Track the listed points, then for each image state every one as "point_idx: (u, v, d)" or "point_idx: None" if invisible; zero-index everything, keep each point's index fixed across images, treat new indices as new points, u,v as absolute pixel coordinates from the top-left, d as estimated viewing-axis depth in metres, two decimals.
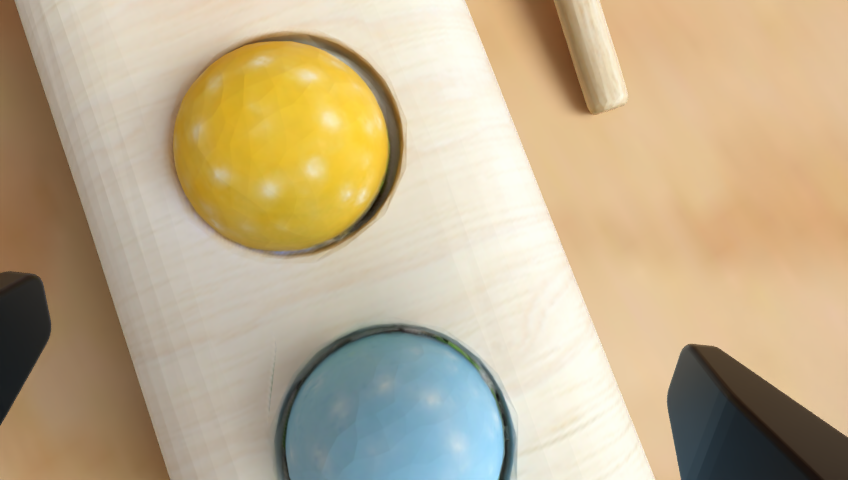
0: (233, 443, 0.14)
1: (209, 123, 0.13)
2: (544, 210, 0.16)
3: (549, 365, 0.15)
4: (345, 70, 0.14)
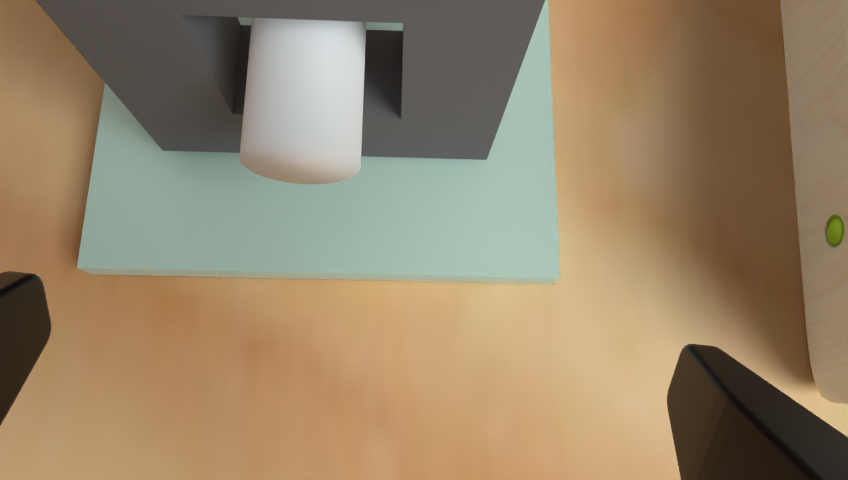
0: None
1: None
2: None
3: None
4: None
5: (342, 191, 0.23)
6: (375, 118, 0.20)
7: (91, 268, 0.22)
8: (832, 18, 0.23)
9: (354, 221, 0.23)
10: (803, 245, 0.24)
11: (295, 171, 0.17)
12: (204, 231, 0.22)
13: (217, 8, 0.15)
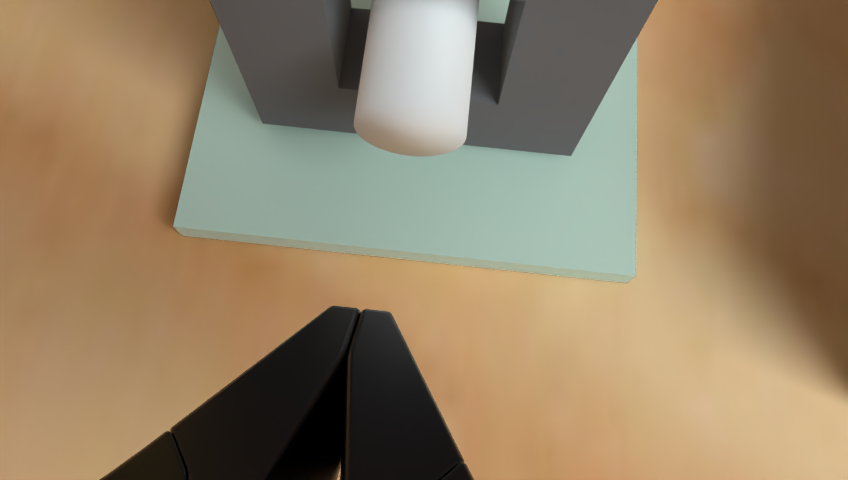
0: None
1: None
2: None
3: None
4: None
5: (428, 175, 0.24)
6: (473, 102, 0.21)
7: (186, 228, 0.23)
8: None
9: (438, 205, 0.23)
10: None
11: (402, 139, 0.18)
12: (294, 202, 0.23)
13: None
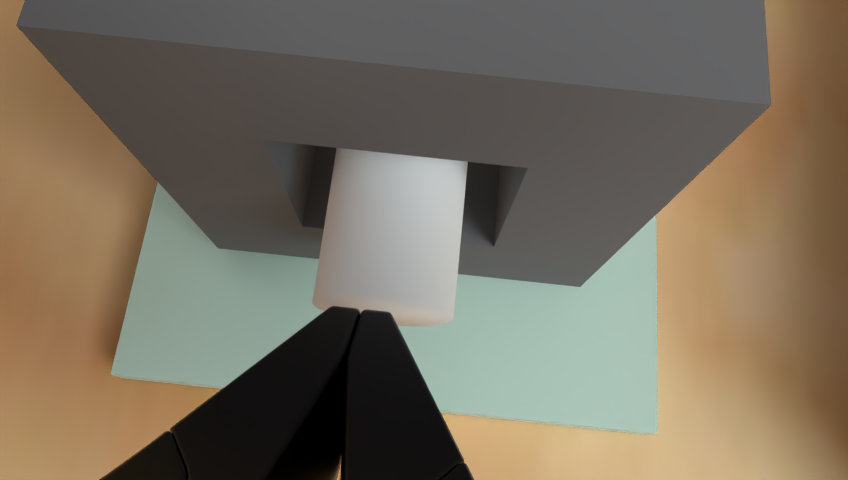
0: None
1: None
2: None
3: None
4: None
5: None
6: (464, 243, 0.17)
7: (126, 376, 0.20)
8: None
9: (424, 345, 0.20)
10: None
11: None
12: (255, 343, 0.20)
13: (307, 137, 0.12)
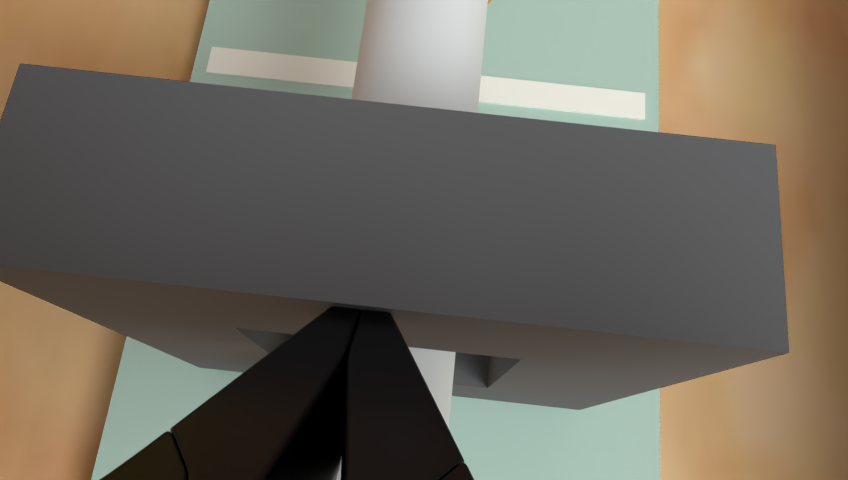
0: None
1: None
2: None
3: None
4: None
5: None
6: (456, 384, 0.16)
7: None
8: None
9: None
10: None
11: None
12: None
13: (282, 330, 0.11)
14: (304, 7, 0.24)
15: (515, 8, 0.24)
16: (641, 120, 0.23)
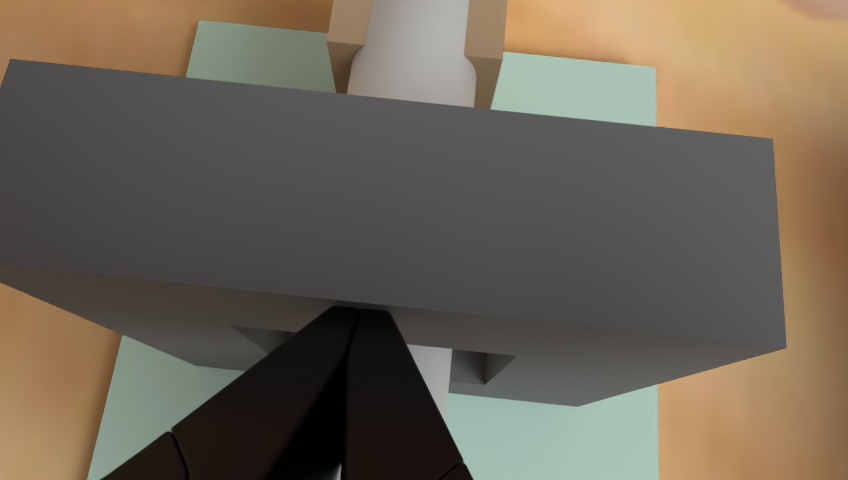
0: None
1: None
2: None
3: None
4: None
5: None
6: (453, 381, 0.16)
7: None
8: None
9: None
10: None
11: None
12: None
13: (277, 326, 0.11)
14: None
15: None
16: None
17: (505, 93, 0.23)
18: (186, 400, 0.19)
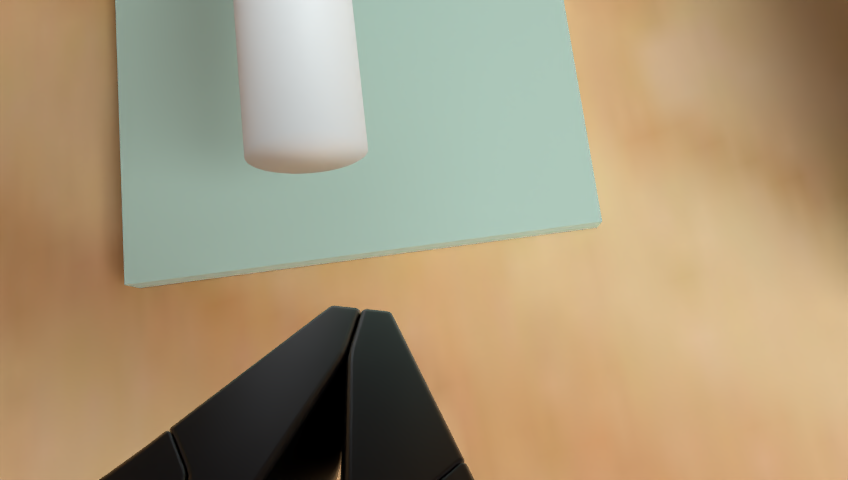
0: None
1: None
2: None
3: None
4: None
5: (365, 168, 0.22)
6: None
7: (138, 283, 0.23)
8: None
9: (382, 196, 0.22)
10: None
11: (304, 162, 0.17)
12: (237, 230, 0.22)
13: None
14: None
15: None
16: None
17: None
18: None
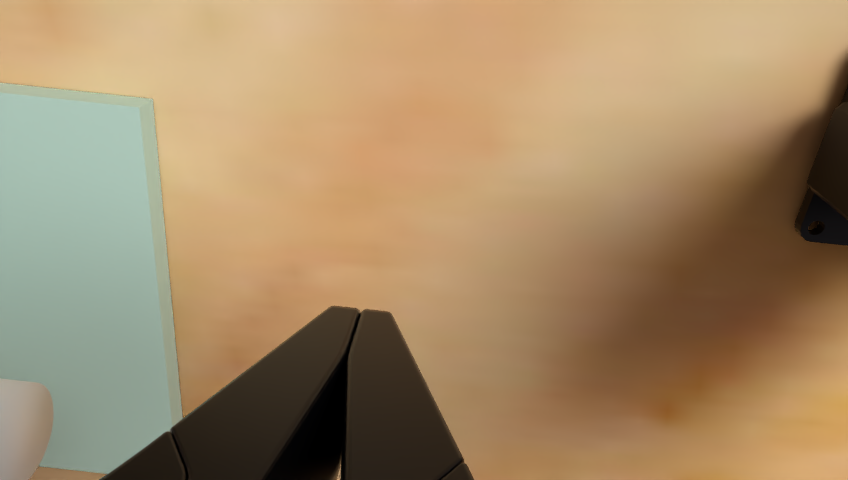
0: None
1: None
2: None
3: None
4: None
5: (80, 301, 0.24)
6: None
7: None
8: None
9: (108, 293, 0.24)
10: None
11: (35, 428, 0.19)
12: (136, 403, 0.26)
13: None
14: None
15: None
16: None
17: None
18: None
